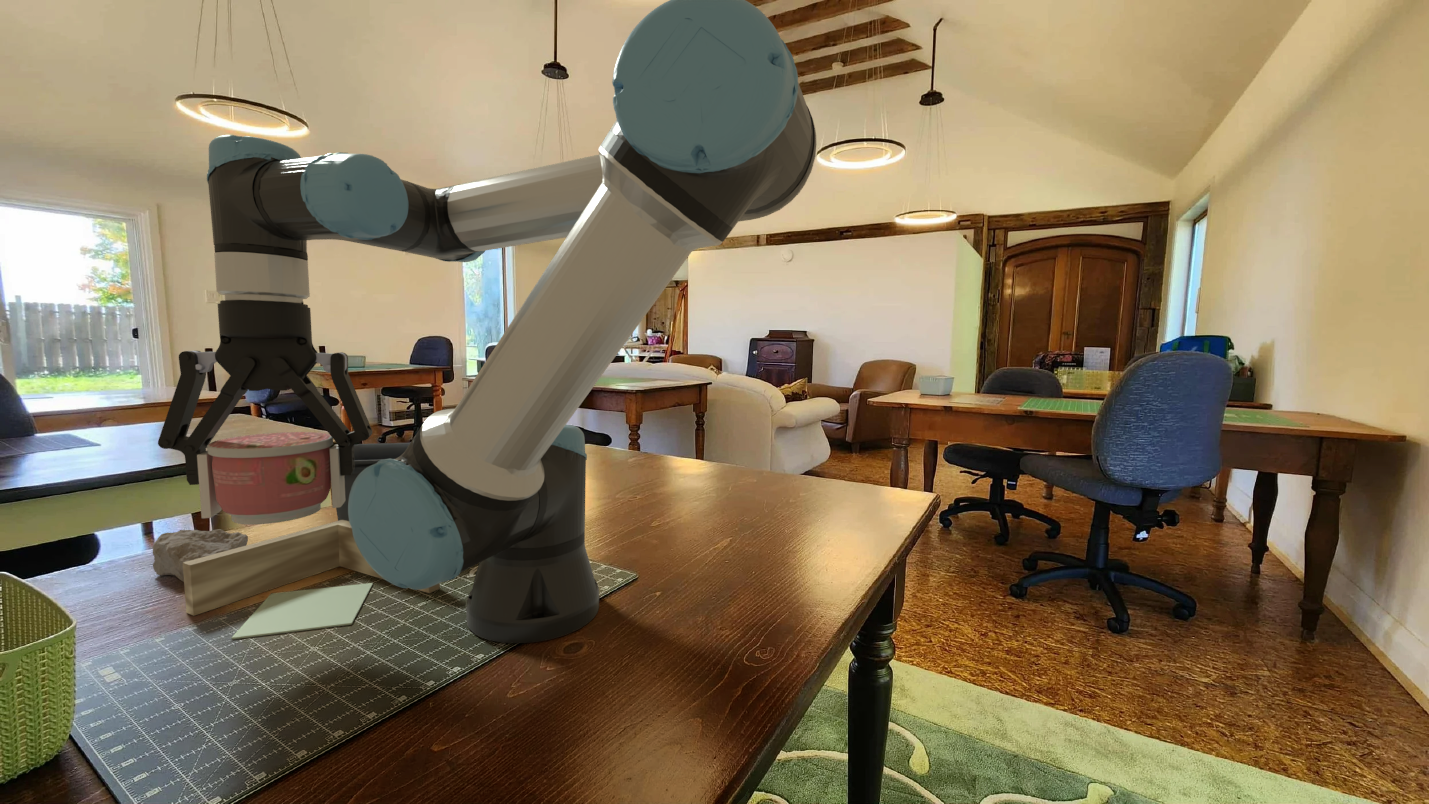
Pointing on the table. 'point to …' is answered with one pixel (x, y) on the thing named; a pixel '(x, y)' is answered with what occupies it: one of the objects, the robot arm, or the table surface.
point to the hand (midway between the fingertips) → (277, 509)
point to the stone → (191, 548)
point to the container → (271, 475)
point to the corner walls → (271, 565)
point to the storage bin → (365, 458)
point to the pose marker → (305, 610)
